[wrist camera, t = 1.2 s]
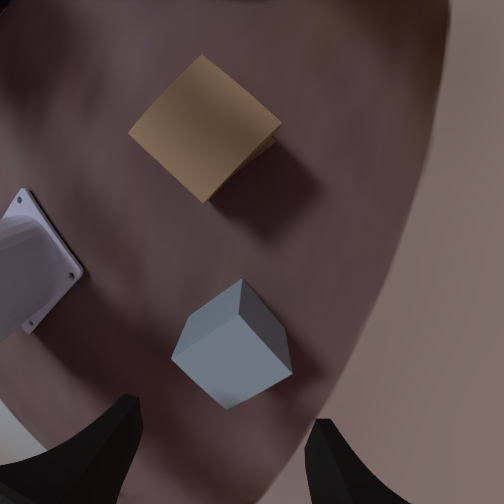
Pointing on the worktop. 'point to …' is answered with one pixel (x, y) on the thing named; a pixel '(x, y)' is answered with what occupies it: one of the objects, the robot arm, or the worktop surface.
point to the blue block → (233, 347)
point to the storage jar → (4, 5)
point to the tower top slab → (204, 128)
